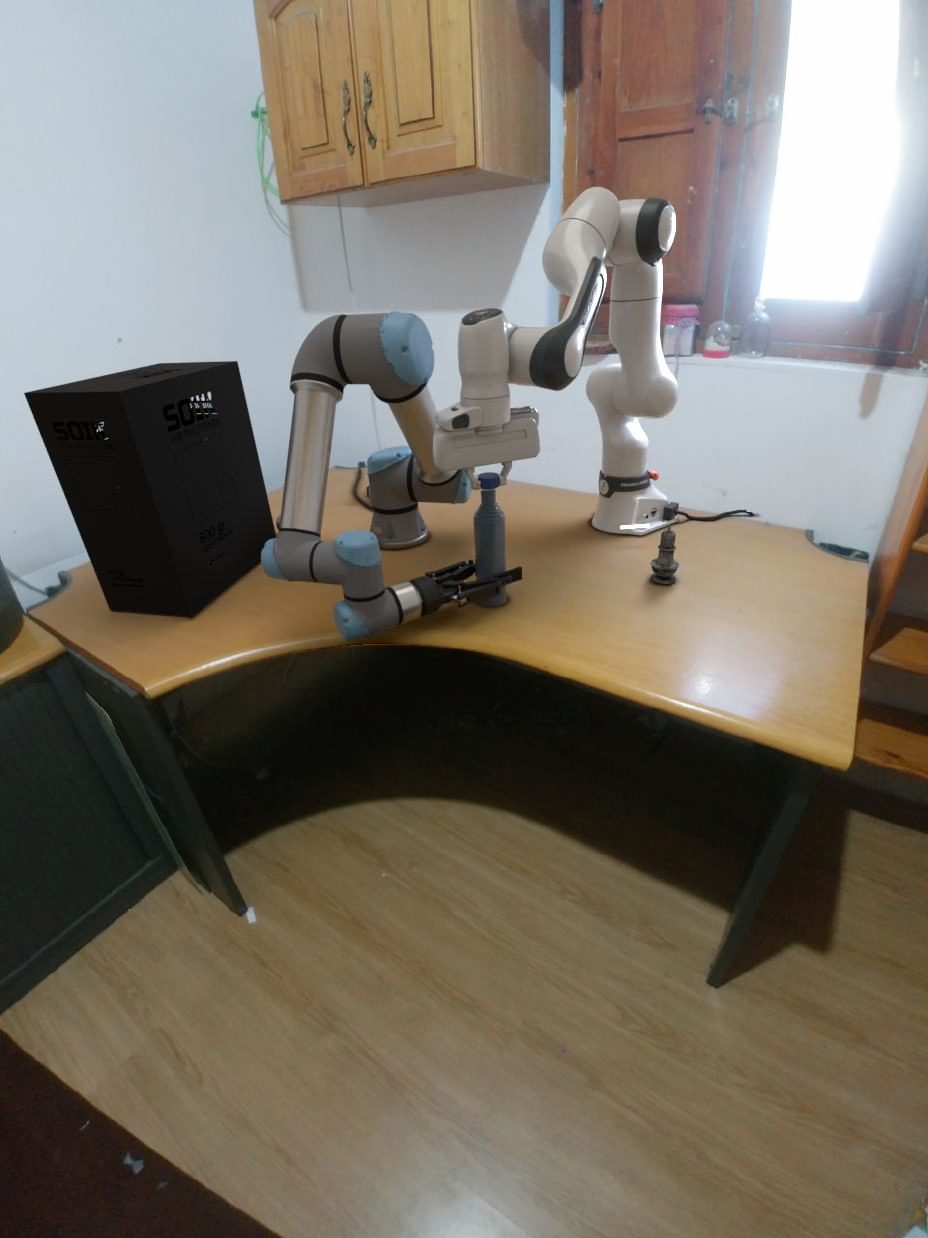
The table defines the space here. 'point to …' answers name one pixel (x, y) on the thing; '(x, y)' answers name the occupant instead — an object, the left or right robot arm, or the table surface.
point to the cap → (489, 480)
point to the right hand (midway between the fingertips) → (488, 486)
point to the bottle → (490, 543)
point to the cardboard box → (159, 481)
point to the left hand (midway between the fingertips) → (510, 567)
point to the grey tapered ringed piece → (665, 559)
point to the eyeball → (278, 521)
